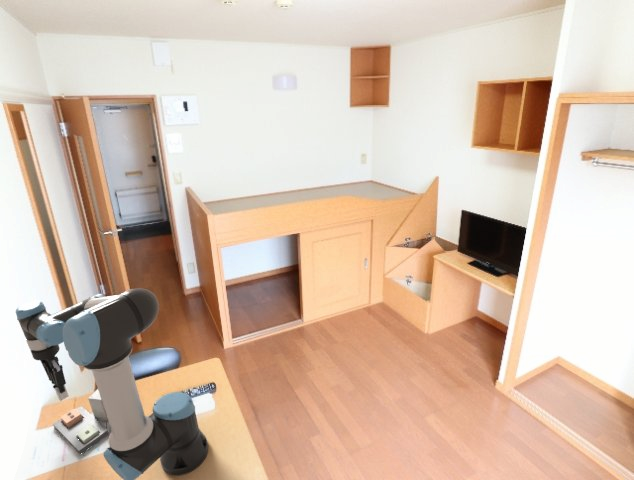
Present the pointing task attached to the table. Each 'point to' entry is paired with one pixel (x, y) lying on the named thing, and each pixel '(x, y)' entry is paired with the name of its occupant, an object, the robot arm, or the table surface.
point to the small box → (97, 406)
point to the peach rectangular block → (71, 418)
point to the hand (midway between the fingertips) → (63, 397)
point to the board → (72, 431)
